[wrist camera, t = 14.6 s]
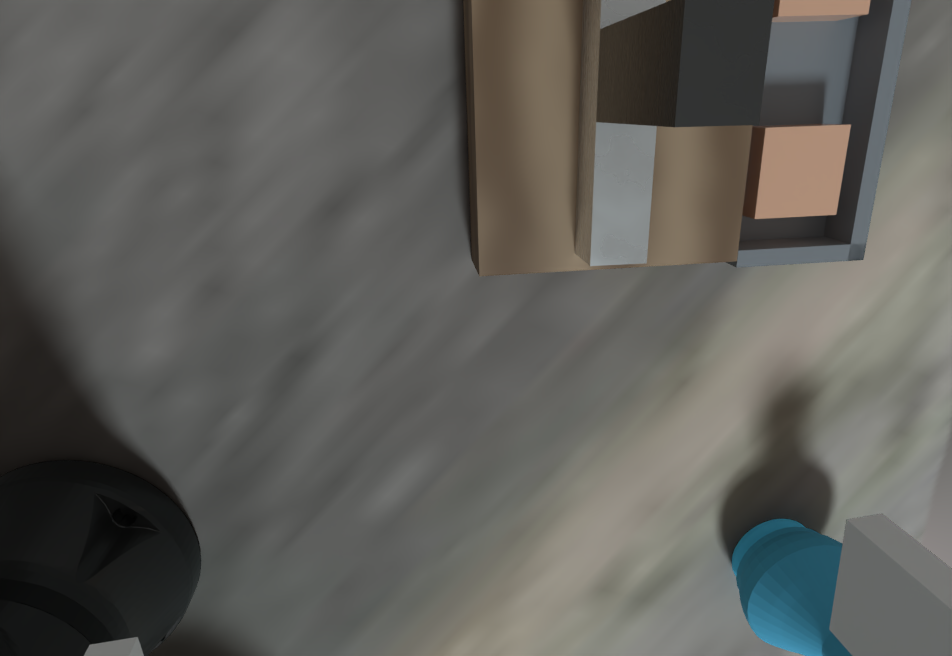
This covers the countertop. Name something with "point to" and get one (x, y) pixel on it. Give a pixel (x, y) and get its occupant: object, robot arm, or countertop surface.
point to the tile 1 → (795, 170)
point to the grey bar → (655, 102)
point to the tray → (830, 102)
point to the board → (575, 152)
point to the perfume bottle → (789, 586)
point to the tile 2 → (818, 10)
